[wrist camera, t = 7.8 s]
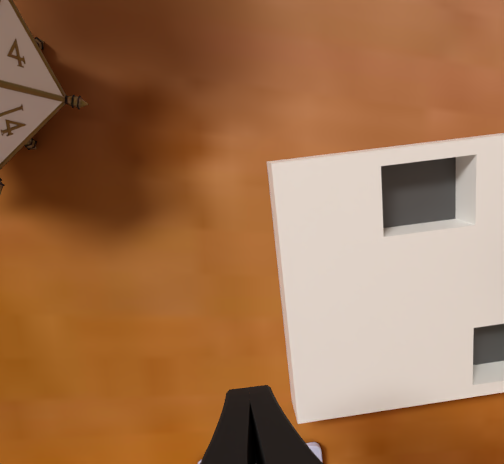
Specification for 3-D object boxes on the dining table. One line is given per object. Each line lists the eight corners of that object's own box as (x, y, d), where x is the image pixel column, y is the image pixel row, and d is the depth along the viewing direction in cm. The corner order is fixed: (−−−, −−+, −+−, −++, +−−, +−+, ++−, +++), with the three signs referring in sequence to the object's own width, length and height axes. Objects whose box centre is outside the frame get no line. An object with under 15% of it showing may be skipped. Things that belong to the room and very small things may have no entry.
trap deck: (578, 358, 25) (634, 391, 22) (291, 401, 24) (303, 443, 21) (599, 121, 22) (669, 117, 18) (266, 161, 21) (275, 164, 17)
